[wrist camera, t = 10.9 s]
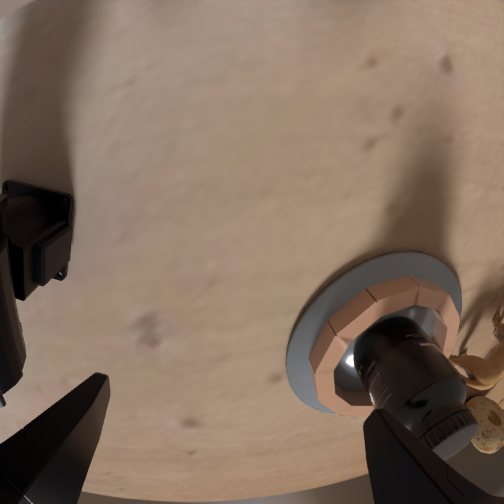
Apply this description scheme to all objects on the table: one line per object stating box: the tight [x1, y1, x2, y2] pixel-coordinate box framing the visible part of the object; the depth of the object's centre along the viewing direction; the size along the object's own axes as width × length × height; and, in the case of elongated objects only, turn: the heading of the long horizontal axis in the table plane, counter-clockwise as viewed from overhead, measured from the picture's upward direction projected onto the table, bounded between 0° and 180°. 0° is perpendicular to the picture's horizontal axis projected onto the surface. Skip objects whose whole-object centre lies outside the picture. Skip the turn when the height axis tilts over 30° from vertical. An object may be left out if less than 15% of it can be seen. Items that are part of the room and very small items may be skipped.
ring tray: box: [286, 251, 462, 416], centre depth 24 cm, size 18×18×3 cm
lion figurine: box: [448, 314, 504, 390], centre depth 23 cm, size 15×5×9 cm, turn 118°
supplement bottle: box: [353, 316, 479, 461], centre depth 19 cm, size 7×7×12 cm
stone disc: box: [465, 396, 504, 454], centre depth 28 cm, size 10×4×10 cm, turn 73°
